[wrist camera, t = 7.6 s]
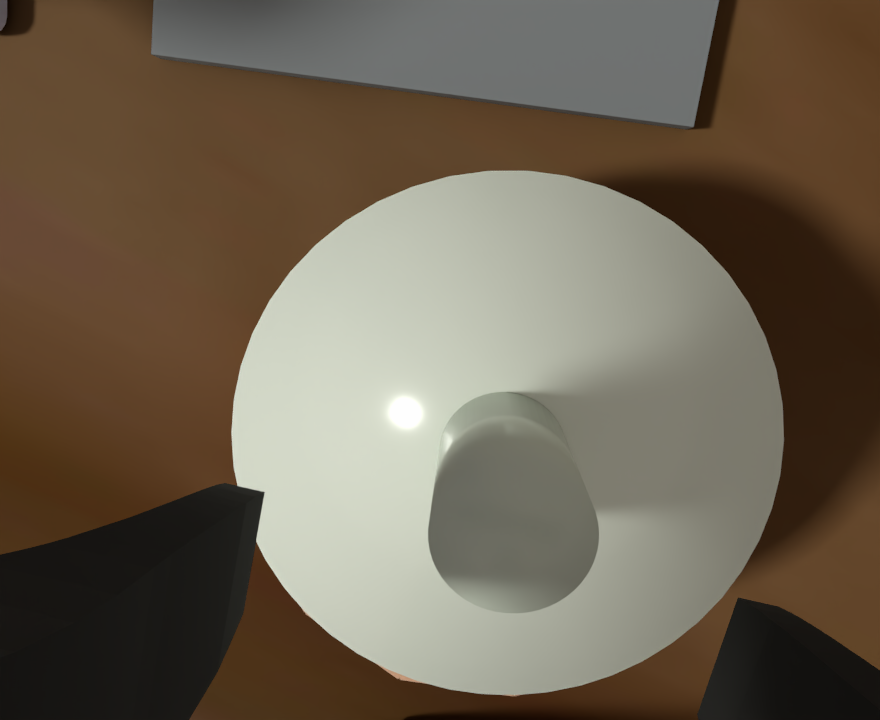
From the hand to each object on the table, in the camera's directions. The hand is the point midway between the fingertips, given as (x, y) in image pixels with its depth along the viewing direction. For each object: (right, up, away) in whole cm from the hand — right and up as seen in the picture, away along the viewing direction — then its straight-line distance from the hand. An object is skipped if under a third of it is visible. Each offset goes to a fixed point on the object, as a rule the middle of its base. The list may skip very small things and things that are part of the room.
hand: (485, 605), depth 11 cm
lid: (+1, +2, +6) cm, 6 cm away
